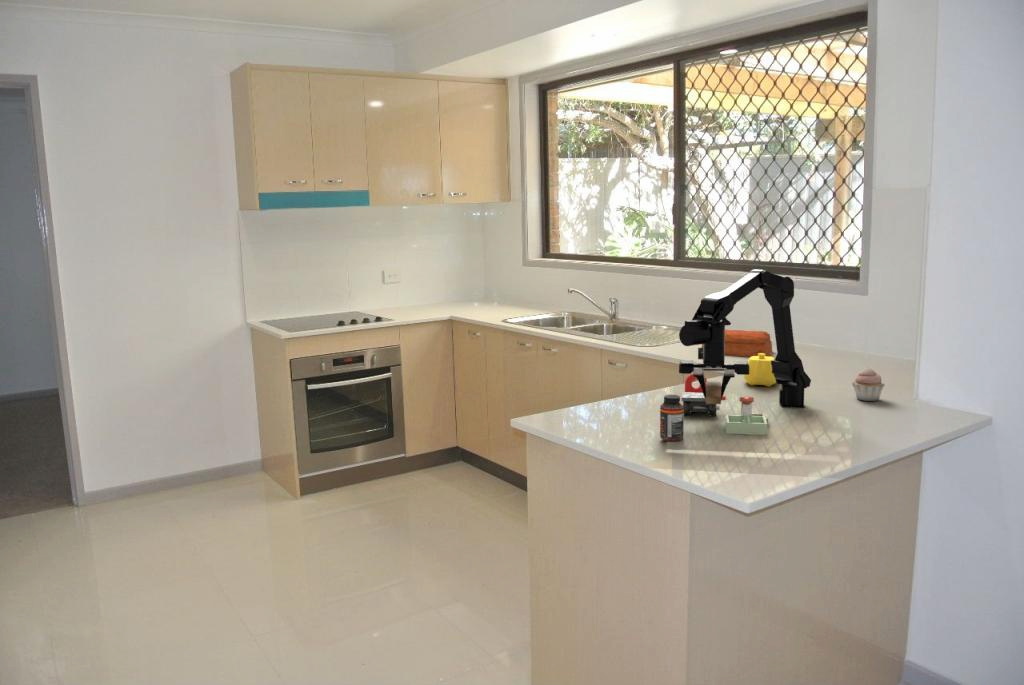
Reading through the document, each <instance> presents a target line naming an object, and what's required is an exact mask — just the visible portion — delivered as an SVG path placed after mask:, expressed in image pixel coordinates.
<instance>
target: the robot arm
mask: <svg viewBox="0 0 1024 685" xmlns="http://www.w3.org/2000/svg"><path fill="white" fill-rule="evenodd" d="M758 289H761V290H762V291H763V295H764V299H765V300H766V302H767V303H768V304H769V305H770V307H771V313H772V320H773V321H772V323H773V328H774V336H775V344H776V346H775V347H776V356H775V358H774V360H772V361H771V365H772V373H773V374H774V377H775V380H776V383H775V384H776V385H780V387H781V388H780V389H779V390H778V404H780V407H781V408H786V409H787V408H789V409H790V408H793V409H805V408H806V405H805V389H807V388H809V387H810V386H811V383H812V379H811V378H810V376H809V375H808V374H807V373H806V371H805V369H804V365H803V360H802V359H801V358H800V356H799V355H798V354H797V352H796V347H795V338H794V332H793V330H794V329H793V323H792V322H793V321H792V315H791V303H792V301H793V299H794V297H795V282H794V280H793V279H792V278H791V277H790V276H783V275H779V274H775V273H772V272H771V271H768V270H766V269H751V270H750V271H749V272H748V274H746V275H744V276H743V277H742V278H740V279H739V280H737V281H735V282H734V283H733V284H731V285H730V286H729V287H727V288H725V289H724V290H722V291H720V292H714V293H711V294H708V295H706V296H704V297H703V298H702V299H700V304H699V306H698V308H697V310H696V311H695V313H694V315H693V317H692V318H691V320H685V321H684V325H683V326H681V327H680V331H679V332H678V338H679V341H680V343H681V344H682V345H683V346H684V347H691V346H697V345H698V346H699V345H702V344H703V348H701V347H698V348H697V359H698V360H702V363H694V361H695V360H680V361H679V363H678V364H679V365H678V373H679V374H681V375H683V374H686V375H690V374H692V373H693V377H697V379H698V380H697V382H698V383H699V386H700V385H701V388H702V391H703V394H704V397H705V398H706V386H705V379H704V377H705V372H706V371H710V372H711V371H712V372H714V371H716V372H717V371H718V372H722V381H721V398H722V397H723V394H724V395H725V391H726V389H727V386H728V384H729V382H730V381H731V378H733V379H734V378H735V377H736V375H737V376H738V375H741V376H744V375H749V363H748V360H746V361H745V360H741V361H740V360H733V363H731V364H730V363H728V364H726V363H725V360H726V359H725V356H726V355H725V330H726V326H730V325H731V324H732V322H731V321H730V320H728V318H727V316H728V315H729V314H731V313H732V312H733V310H734V307H735V305H736V304H737V303H738V302H740V301H741V300H742V299H744V298H746V297H747V296H749V295H750V294H751V293H753V292H754V291H755V290H758Z"/></svg>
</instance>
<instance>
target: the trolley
mask: <svg viewBox="0 0 1024 685" xmlns="http://www.w3.org/2000/svg"><path fill="white" fill-rule="evenodd" d="M681 401H682V402H683V403H682V405H683V407H684V416H691V412H690V411H692V412H693V413H694V412H695V413H708V417H709V416H710V417H711V416H712V417H713V416H714V417H717V411H720V405H719V406H717V404H706V398H705V397H704V394H703V393H694V392H685V391H684V392H683V391H682V394H681Z"/></svg>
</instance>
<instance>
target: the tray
mask: <svg viewBox="0 0 1024 685" xmlns="http://www.w3.org/2000/svg"><path fill="white" fill-rule="evenodd" d="M725 432H726V435H727V434H729V435H731V434H733V435H754V436H755V435H759V436H760V435H761V436H767V435H768V426H767V421H766V418H765V416H751V423H745V422H741V414H740V415H739V414H738V415H737V414H725Z"/></svg>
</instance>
